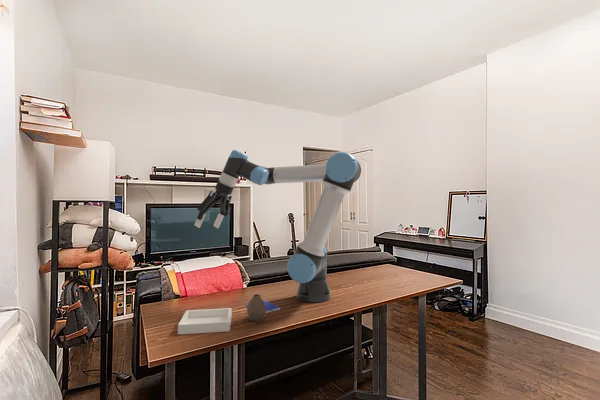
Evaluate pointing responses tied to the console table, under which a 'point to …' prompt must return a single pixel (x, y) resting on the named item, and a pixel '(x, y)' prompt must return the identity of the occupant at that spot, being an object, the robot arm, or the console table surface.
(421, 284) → the console table surface
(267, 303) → the hard drive
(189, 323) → the box
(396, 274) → the console table surface
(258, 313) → the vase
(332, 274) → the console table surface
